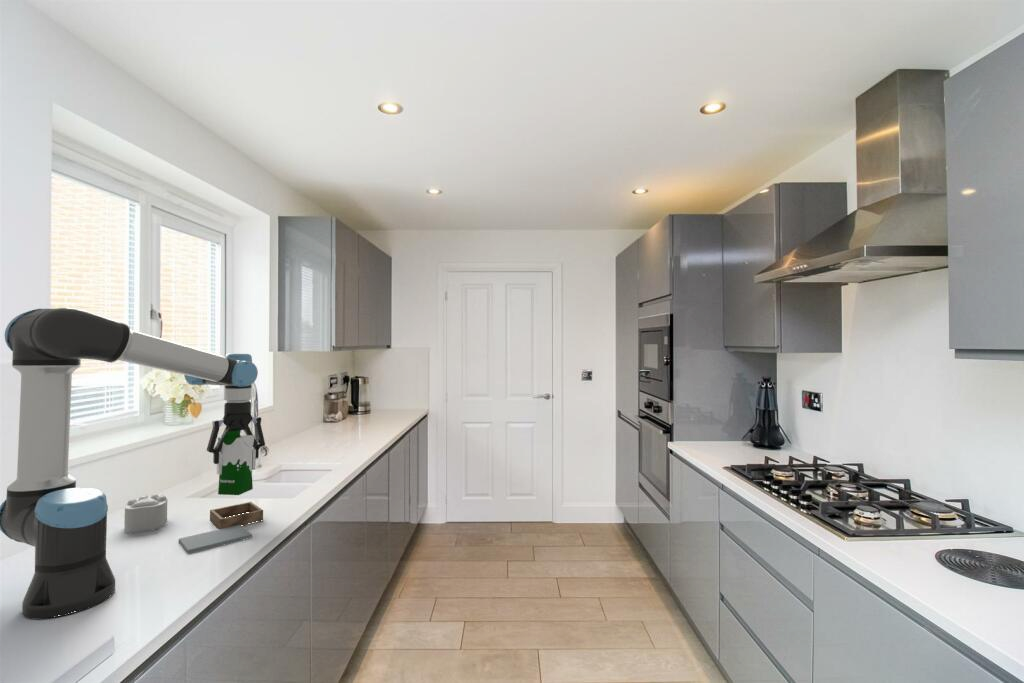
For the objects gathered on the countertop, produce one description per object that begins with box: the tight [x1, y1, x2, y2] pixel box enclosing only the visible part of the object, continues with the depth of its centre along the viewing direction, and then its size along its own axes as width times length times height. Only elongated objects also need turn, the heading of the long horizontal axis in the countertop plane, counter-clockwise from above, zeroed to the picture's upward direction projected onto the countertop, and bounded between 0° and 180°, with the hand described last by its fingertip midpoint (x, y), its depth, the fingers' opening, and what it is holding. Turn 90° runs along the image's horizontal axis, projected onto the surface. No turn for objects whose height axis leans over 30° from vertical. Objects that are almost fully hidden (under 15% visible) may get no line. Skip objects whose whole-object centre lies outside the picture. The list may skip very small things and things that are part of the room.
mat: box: [178, 525, 253, 555], centre depth 141 cm, size 16×11×1 cm
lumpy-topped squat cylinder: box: [124, 493, 168, 534], centre depth 153 cm, size 10×13×9 cm
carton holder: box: [209, 501, 264, 530], centre depth 156 cm, size 12×12×4 cm
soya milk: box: [217, 430, 256, 496], centre depth 156 cm, size 9×9×20 cm
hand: (236, 471), depth 156 cm, fingers closed on soya milk, 9 cm apart
